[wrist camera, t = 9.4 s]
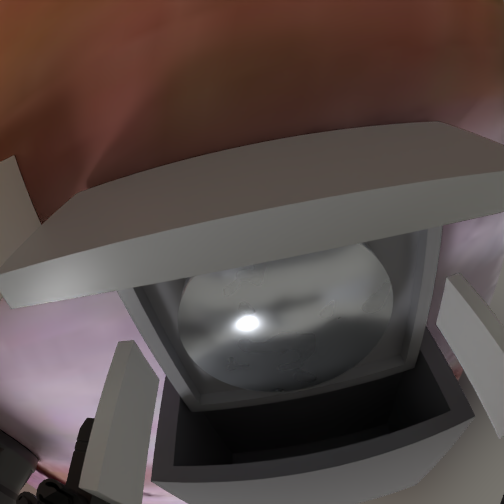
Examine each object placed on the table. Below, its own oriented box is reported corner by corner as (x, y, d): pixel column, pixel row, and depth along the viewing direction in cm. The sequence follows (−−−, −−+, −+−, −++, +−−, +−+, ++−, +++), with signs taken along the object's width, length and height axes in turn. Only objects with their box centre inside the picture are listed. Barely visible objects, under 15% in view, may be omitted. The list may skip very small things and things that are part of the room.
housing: (223, 450, 26) (224, 521, 19) (166, 369, 19) (150, 481, 12) (393, 416, 25) (416, 484, 18) (421, 318, 18) (475, 416, 11)
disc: (154, 235, 12) (142, 259, 10) (379, 190, 11) (399, 208, 10) (214, 375, 16) (213, 401, 15) (373, 344, 16) (383, 369, 14)
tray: (175, 385, 19) (166, 473, 14) (76, 193, 12) (-9, 276, 7) (418, 337, 18) (458, 414, 13) (438, 121, 11) (548, 166, 6)
